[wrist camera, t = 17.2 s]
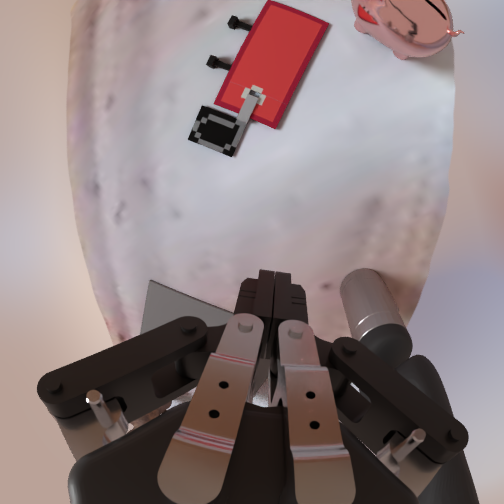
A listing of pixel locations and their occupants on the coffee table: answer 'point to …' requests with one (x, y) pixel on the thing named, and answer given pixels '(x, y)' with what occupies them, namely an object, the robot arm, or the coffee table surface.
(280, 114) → the red board with handle
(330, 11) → the coffee table surface
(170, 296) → the yard mat
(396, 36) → the piggy bank
